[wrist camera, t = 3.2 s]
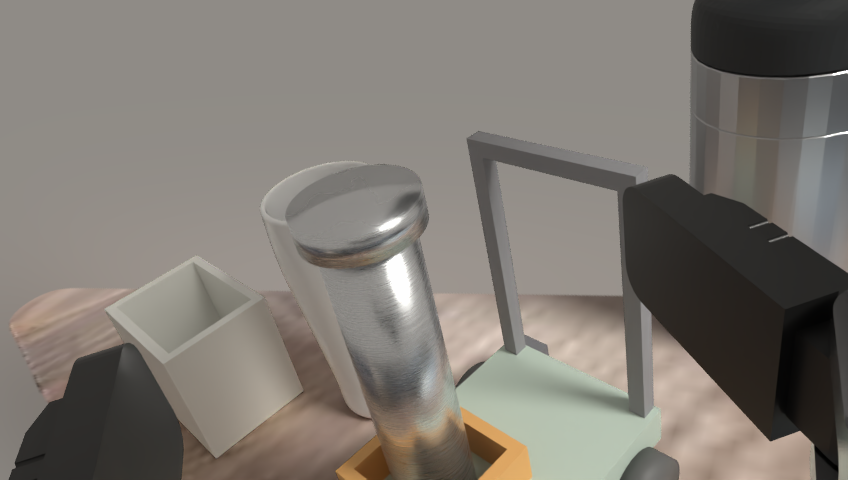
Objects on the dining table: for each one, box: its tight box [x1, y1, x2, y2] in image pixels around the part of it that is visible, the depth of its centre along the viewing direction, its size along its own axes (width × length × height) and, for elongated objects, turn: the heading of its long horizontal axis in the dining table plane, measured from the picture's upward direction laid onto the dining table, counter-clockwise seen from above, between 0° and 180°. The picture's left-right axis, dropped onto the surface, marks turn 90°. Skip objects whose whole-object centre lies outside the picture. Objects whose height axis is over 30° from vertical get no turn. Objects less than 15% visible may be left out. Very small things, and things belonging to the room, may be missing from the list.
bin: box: [104, 255, 304, 459], centre depth 44 cm, size 7×9×8 cm
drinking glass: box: [260, 161, 371, 418], centre depth 39 cm, size 7×7×15 cm
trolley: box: [336, 131, 679, 480], centre depth 29 cm, size 13×11×18 cm
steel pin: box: [285, 164, 477, 480], centre depth 26 cm, size 5×5×15 cm
